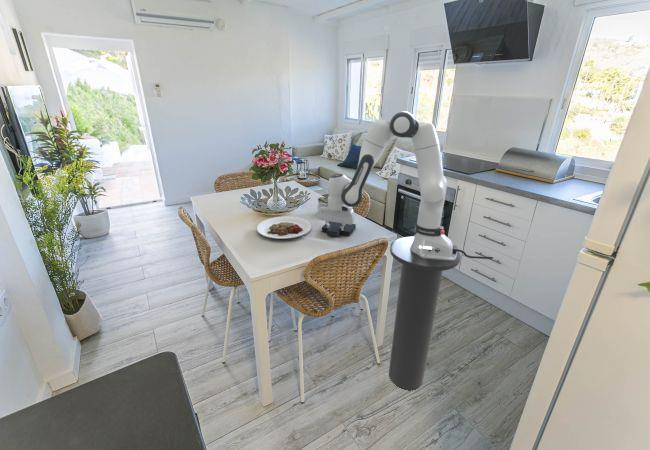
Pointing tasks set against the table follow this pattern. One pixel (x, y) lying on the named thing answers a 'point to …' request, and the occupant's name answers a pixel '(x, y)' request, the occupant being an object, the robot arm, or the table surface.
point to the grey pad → (334, 230)
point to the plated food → (284, 227)
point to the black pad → (346, 231)
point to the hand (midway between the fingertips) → (335, 229)
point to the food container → (323, 200)
